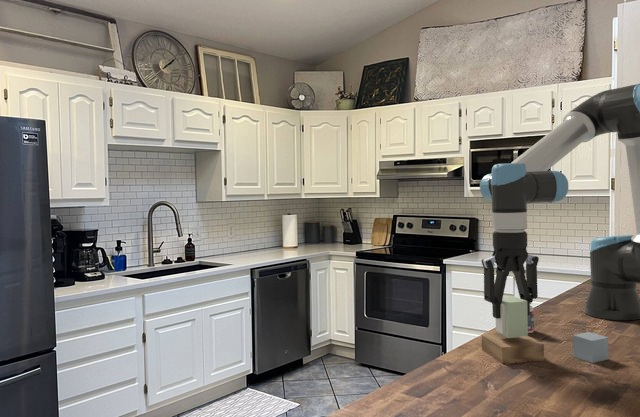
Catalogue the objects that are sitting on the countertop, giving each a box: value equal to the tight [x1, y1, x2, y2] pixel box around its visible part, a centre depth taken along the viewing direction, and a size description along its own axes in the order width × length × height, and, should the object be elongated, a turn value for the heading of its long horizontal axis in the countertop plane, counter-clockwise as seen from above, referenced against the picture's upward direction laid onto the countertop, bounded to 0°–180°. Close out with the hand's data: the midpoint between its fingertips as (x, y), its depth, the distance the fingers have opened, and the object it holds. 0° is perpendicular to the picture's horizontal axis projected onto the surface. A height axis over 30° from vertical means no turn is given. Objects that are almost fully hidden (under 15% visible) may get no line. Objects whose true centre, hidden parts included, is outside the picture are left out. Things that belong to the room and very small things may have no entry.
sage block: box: [495, 296, 529, 338], centre depth 122 cm, size 5×5×8 cm
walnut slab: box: [481, 333, 545, 364], centre depth 123 cm, size 10×10×4 cm
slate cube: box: [572, 331, 609, 364], centre depth 119 cm, size 5×5×5 cm
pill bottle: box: [516, 296, 535, 334], centre depth 141 cm, size 5×5×9 cm
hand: (511, 330), depth 122 cm, fingers closed on sage block, 5 cm apart
